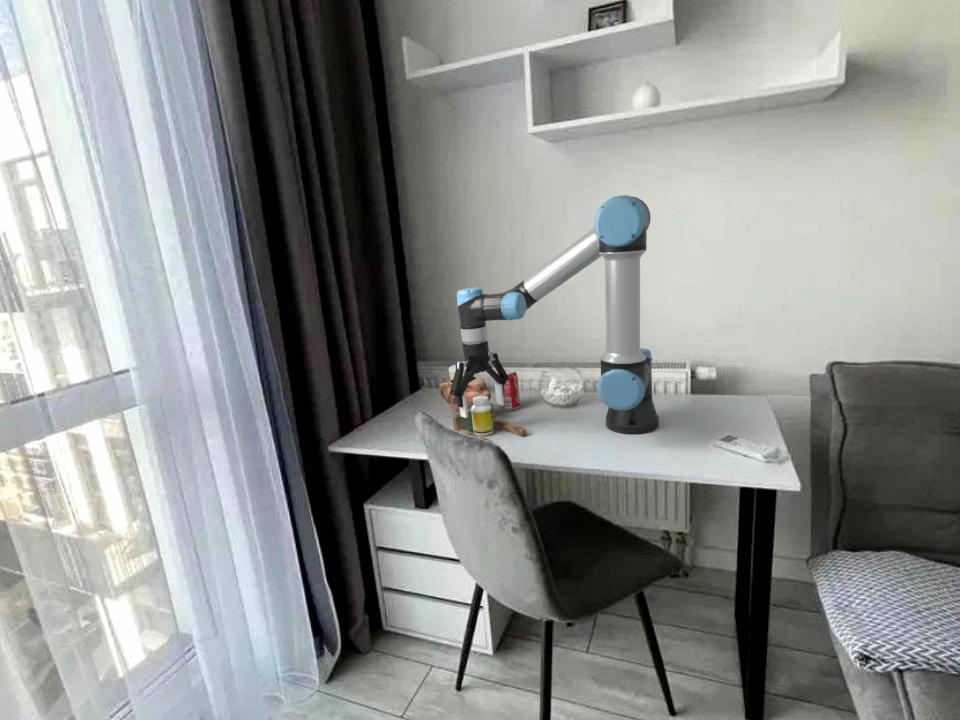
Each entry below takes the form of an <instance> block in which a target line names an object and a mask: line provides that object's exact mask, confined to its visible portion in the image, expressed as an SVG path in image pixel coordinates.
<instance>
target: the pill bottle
mask: <svg viewBox="0 0 960 720" xmlns="http://www.w3.org/2000/svg"><path fill="white" fill-rule="evenodd" d="M489 402H490V400H488V397H487V396H478V397H474V398H473V404H474V405H473V406H472V408H471V412H472V422H473V431H472V432H473V433H474V434H476V435H479V436H481V437H485V436H489V435H492V434H493V433H494V430H495V427H494V426H493V416H494V415H493V416H492V407H491V405H490V404H488V403H489Z"/></svg>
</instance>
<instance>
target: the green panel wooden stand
mask: <svg viewBox="0 0 960 720" xmlns="http://www.w3.org/2000/svg"><path fill="white" fill-rule="evenodd" d="M488 404H490V405H491V407H492V416H493V426H494V428H498V429H500V430H502V431H505V432H508V433H511V434H513V435H516V436H518V437H521V438H524V437H527V428H525V427H522V426H519V425H518V424H514V423H511V422H509V421H505V420H503V419H500V418H498V417H497V418H496V417H494V408H493V407H494V406H493V403H492V402H490V401H488ZM467 412H468V418H464V417H462V416H461V413H460V412H458V413H455V414H453V413H452V419H453V420H452V421H453V429H454V430H456V431H458V432H461V433H464V434H467V435H470V436H473V437H476V438H480V439H483V440H487V441H489V442H492V443H493V440H491V439H488V438H486V437H485V436H479V435H476V434H474V431H473V422H472V412H471V408H470V409H467Z"/></svg>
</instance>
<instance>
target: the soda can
mask: <svg viewBox="0 0 960 720" xmlns="http://www.w3.org/2000/svg"><path fill="white" fill-rule="evenodd" d="M504 370H505V372H506V374H507V375H508V377H509V379H508V380H506V384H504V391H505V392H504V394H503V397H504V405H503V406H502V405H498V406H499V408H500V409H501V410H502V411H505V412H513V411H515V410H518V409H519V408H520V406H521V399H520V397H521V396H520V389H519V387H520V386H519V377H518V373H517V372H516V369H511V368H509V369H508V368H506V369H505V368H504ZM496 373H497V374H498V372H497V371H496ZM498 375H499V374H498Z"/></svg>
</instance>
